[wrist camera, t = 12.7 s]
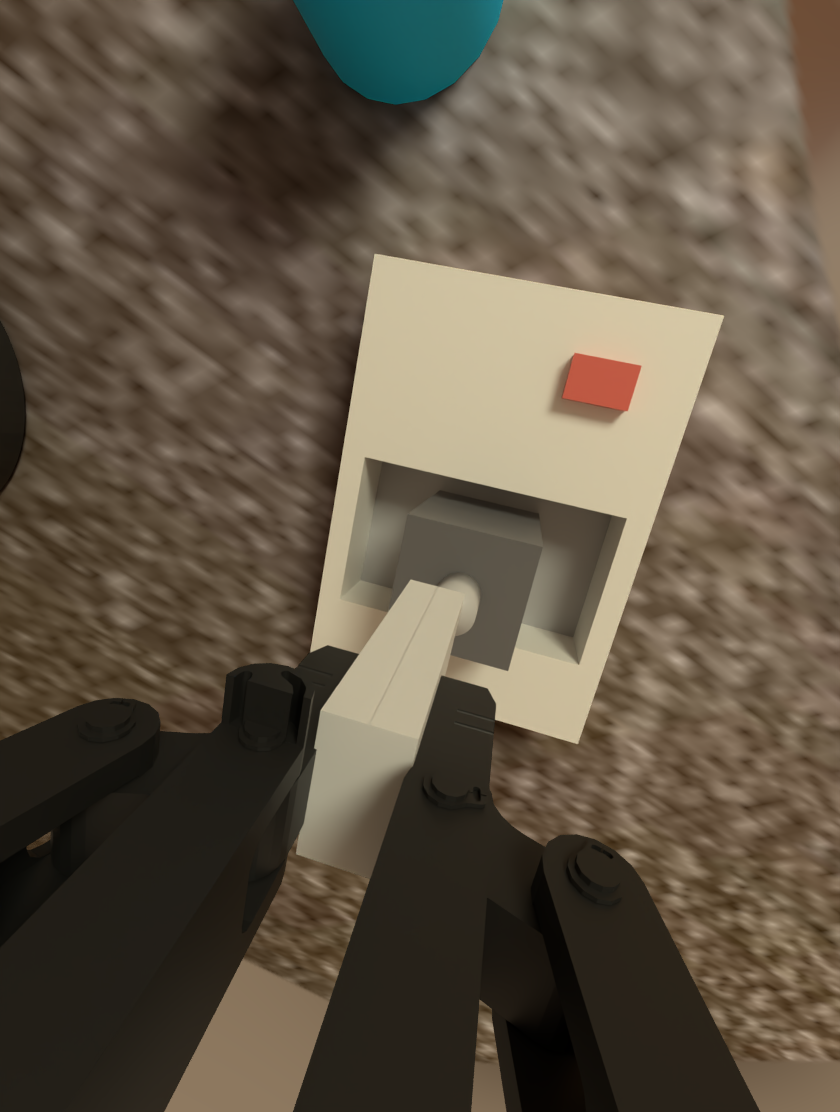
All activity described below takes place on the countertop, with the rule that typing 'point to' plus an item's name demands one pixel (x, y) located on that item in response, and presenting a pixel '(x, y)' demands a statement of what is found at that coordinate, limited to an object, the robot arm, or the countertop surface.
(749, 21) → the countertop surface
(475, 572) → the plug
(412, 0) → the mug
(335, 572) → the socket plate
